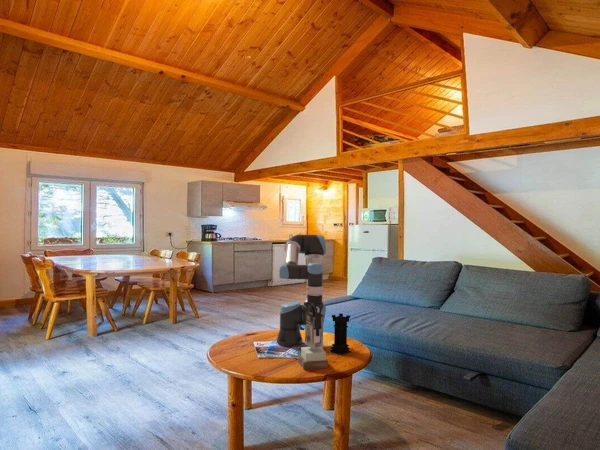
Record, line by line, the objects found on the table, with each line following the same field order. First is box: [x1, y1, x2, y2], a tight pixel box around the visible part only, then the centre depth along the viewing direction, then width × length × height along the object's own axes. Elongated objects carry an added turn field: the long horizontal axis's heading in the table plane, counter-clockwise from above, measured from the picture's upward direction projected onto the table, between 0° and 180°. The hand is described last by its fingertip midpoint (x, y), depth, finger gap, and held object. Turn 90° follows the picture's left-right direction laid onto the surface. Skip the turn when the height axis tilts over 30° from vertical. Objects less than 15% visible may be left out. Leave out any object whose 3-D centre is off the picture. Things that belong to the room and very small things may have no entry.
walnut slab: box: [297, 353, 329, 371], centre depth 203 cm, size 12×12×4 cm
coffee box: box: [304, 312, 325, 349], centre depth 203 cm, size 9×6×16 cm
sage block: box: [300, 346, 327, 362], centre depth 204 cm, size 10×10×4 cm
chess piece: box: [329, 312, 352, 356], centre depth 224 cm, size 8×8×20 cm
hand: (314, 339), depth 203 cm, fingers closed on coffee box, 9 cm apart
